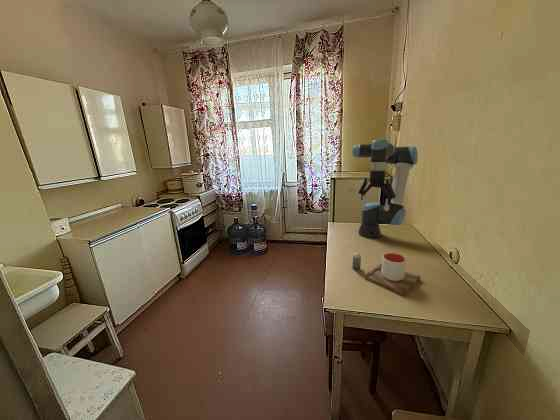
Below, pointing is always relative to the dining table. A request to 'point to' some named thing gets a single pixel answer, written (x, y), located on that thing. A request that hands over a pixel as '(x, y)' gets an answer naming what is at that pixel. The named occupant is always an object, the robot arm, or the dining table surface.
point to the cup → (393, 266)
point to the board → (394, 286)
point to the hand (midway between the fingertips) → (374, 208)
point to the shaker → (356, 261)
